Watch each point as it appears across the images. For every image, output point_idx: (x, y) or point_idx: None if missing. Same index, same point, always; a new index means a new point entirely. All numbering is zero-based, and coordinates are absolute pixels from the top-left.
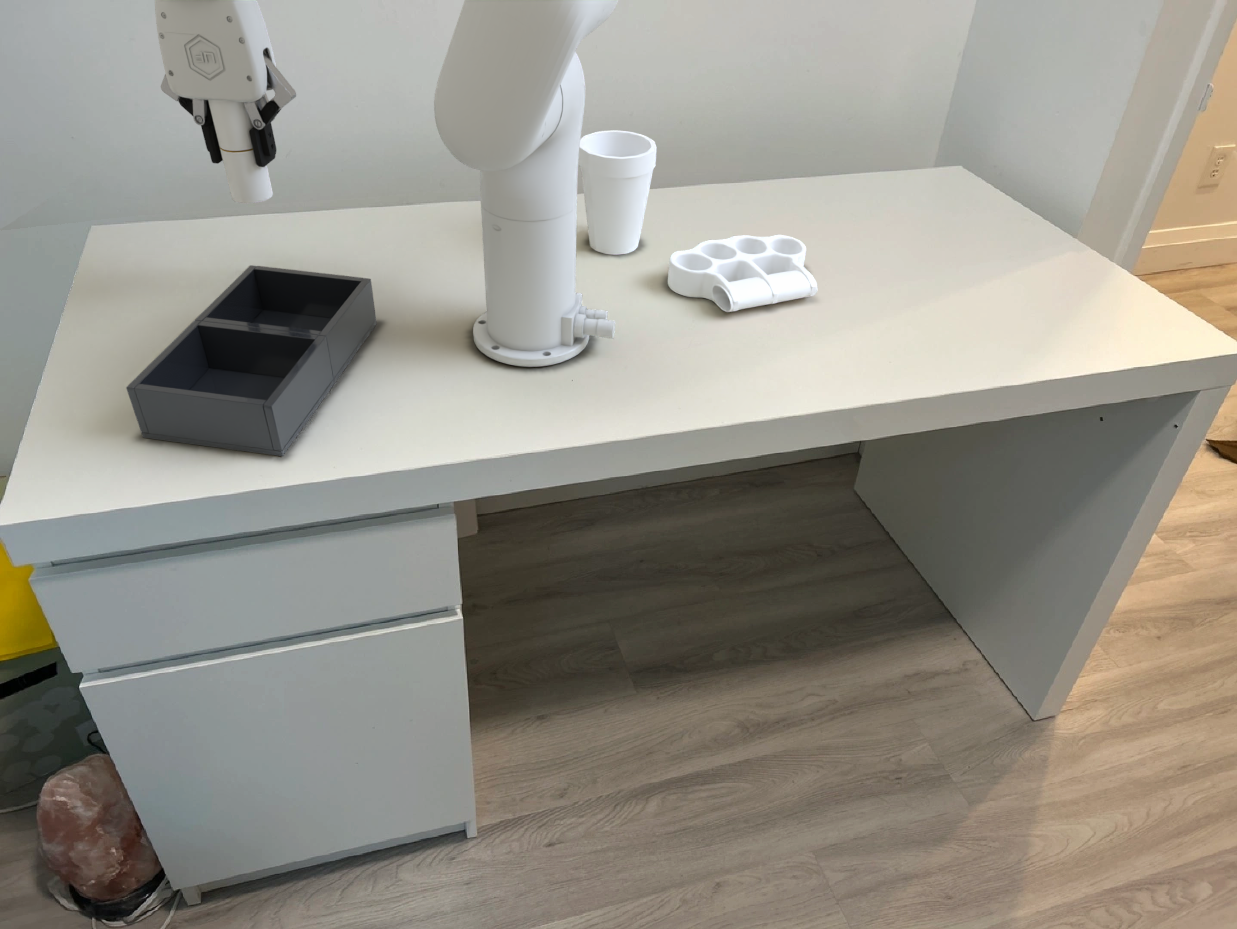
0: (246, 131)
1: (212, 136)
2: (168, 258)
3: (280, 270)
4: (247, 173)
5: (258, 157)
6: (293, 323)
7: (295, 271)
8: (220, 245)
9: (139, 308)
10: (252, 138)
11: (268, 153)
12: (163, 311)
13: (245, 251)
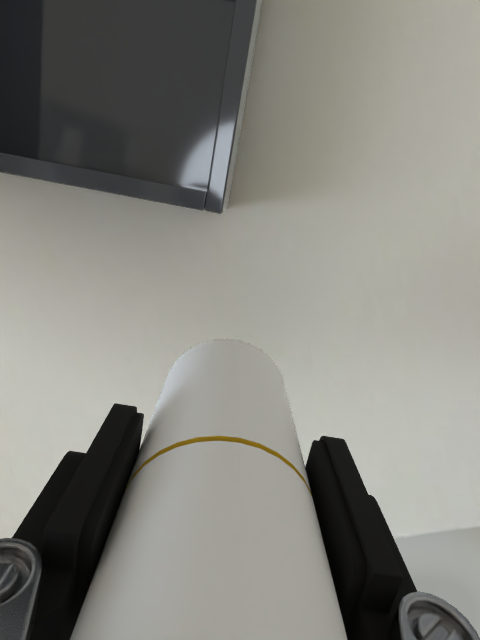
0: (122, 539)
1: (341, 525)
2: (446, 399)
3: (138, 185)
4: (191, 387)
5: (111, 422)
6: (138, 136)
7: (101, 183)
8: (363, 449)
9: (462, 206)
10: (89, 488)
11: (72, 456)
12: (413, 196)
13: (313, 430)
